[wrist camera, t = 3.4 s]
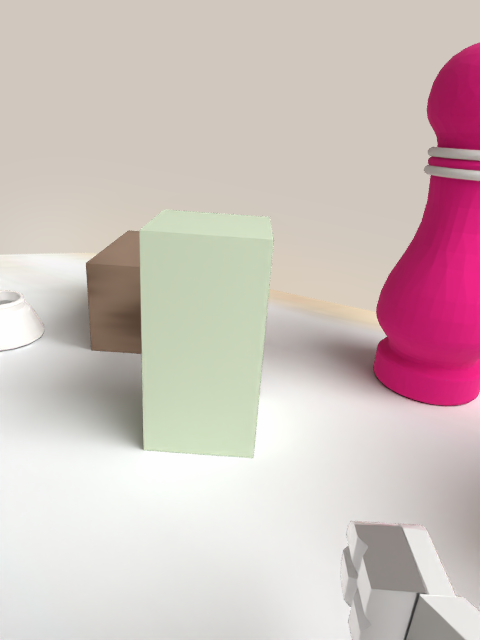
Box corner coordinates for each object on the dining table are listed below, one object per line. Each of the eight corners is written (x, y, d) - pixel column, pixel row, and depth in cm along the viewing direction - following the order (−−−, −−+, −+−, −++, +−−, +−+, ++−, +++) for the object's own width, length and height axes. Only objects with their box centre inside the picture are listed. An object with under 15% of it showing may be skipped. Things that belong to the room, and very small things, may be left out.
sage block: (143, 450, 21) (139, 230, 17) (163, 392, 26) (163, 209, 22) (253, 458, 21) (273, 239, 17) (253, 399, 25) (269, 217, 22)
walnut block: (91, 353, 30) (85, 263, 28) (130, 301, 39) (128, 230, 37) (245, 364, 30) (252, 274, 27) (247, 309, 39) (253, 239, 37)
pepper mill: (449, 354, 33) (536, 24, 25) (514, 412, 26) (659, -14, 18) (350, 352, 32) (409, 12, 24) (390, 411, 25) (488, -33, 18)
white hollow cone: (-54, 357, 28) (34, 355, 29) (-62, 312, 27) (29, 312, 28) (-24, 325, 32) (51, 324, 33) (-30, 285, 31) (47, 286, 32)
